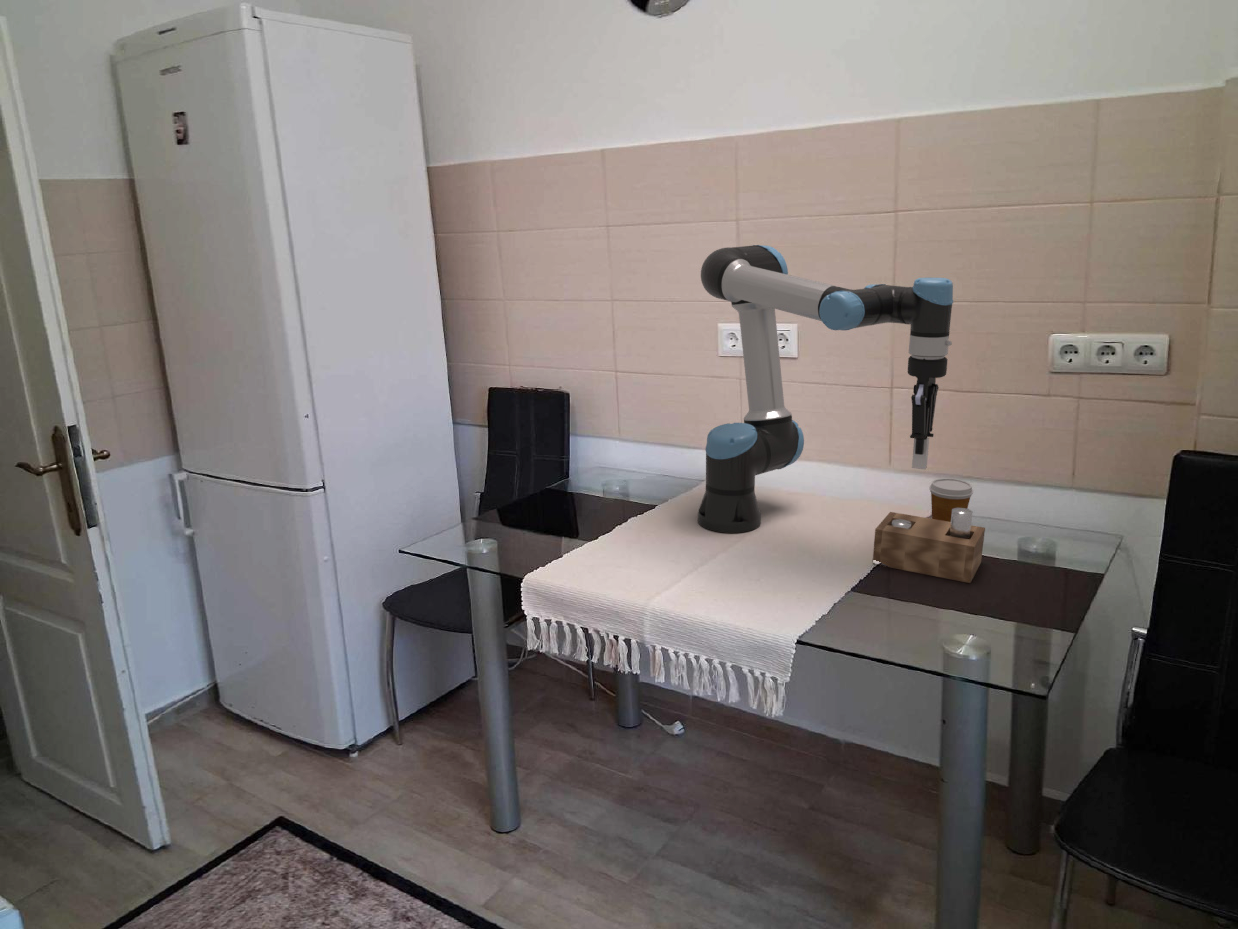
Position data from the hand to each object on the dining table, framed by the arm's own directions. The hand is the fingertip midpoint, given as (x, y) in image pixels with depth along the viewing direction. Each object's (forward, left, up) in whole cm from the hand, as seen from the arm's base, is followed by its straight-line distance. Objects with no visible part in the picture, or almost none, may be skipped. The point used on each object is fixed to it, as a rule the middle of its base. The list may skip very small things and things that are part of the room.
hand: (919, 467), depth 190 cm
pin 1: (-3, 0, -21) cm, 21 cm away
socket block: (+3, 0, -21) cm, 21 cm away
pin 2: (+9, 0, -16) cm, 19 cm away
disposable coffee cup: (+3, +20, -21) cm, 30 cm away
